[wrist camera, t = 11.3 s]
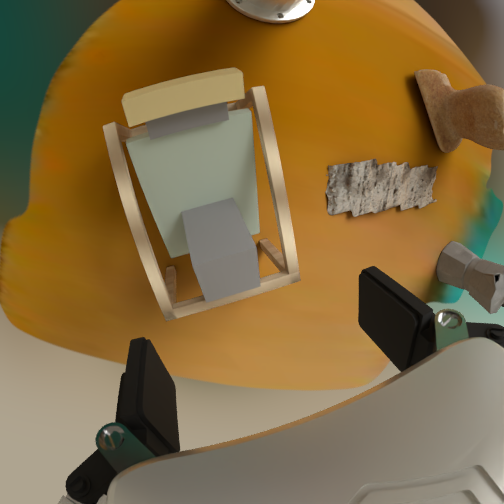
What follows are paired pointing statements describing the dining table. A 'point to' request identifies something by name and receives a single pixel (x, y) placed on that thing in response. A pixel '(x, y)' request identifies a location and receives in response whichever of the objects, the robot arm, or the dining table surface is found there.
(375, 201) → the stone fragment
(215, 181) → the trapdoor
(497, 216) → the dining table surface
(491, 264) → the coffeepot
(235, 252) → the granite block
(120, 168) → the trapdoor frame
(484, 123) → the stone cup
